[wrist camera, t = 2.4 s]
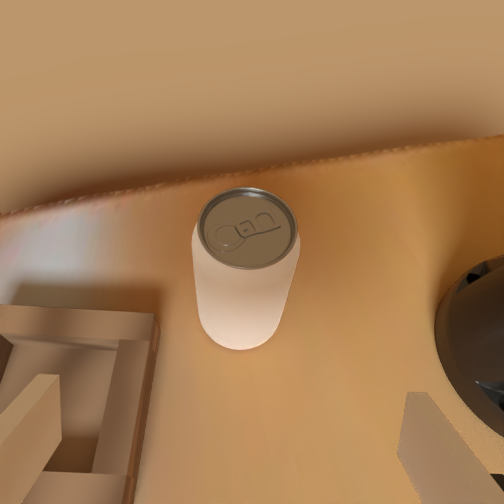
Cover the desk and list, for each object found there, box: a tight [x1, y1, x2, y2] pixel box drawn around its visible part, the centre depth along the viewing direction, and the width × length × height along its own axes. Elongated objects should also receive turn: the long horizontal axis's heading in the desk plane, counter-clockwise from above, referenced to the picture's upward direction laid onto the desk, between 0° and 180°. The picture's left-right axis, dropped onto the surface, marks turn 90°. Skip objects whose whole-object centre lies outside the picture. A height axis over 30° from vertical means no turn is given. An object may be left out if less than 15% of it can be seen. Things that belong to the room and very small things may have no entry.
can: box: [192, 187, 300, 350], centre depth 29 cm, size 6×6×12 cm
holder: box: [0, 304, 160, 504], centre depth 28 cm, size 12×12×4 cm
